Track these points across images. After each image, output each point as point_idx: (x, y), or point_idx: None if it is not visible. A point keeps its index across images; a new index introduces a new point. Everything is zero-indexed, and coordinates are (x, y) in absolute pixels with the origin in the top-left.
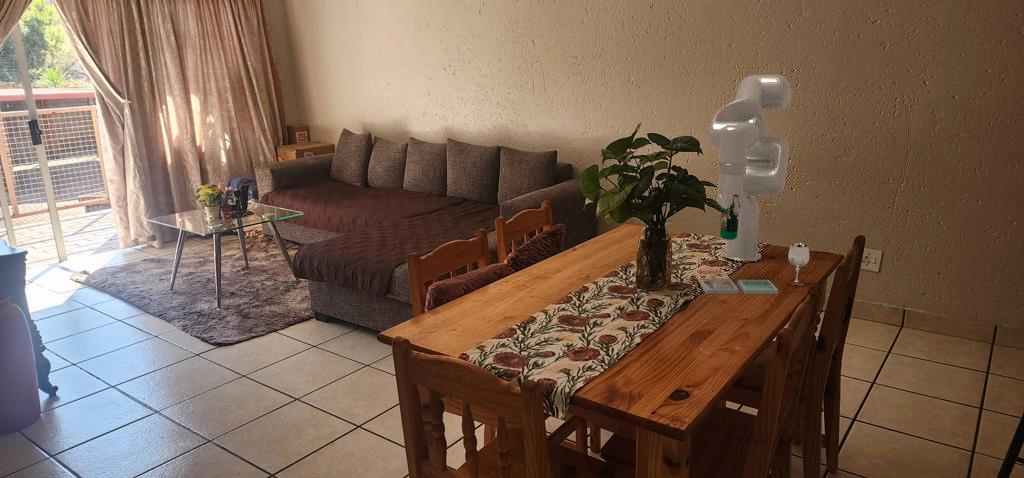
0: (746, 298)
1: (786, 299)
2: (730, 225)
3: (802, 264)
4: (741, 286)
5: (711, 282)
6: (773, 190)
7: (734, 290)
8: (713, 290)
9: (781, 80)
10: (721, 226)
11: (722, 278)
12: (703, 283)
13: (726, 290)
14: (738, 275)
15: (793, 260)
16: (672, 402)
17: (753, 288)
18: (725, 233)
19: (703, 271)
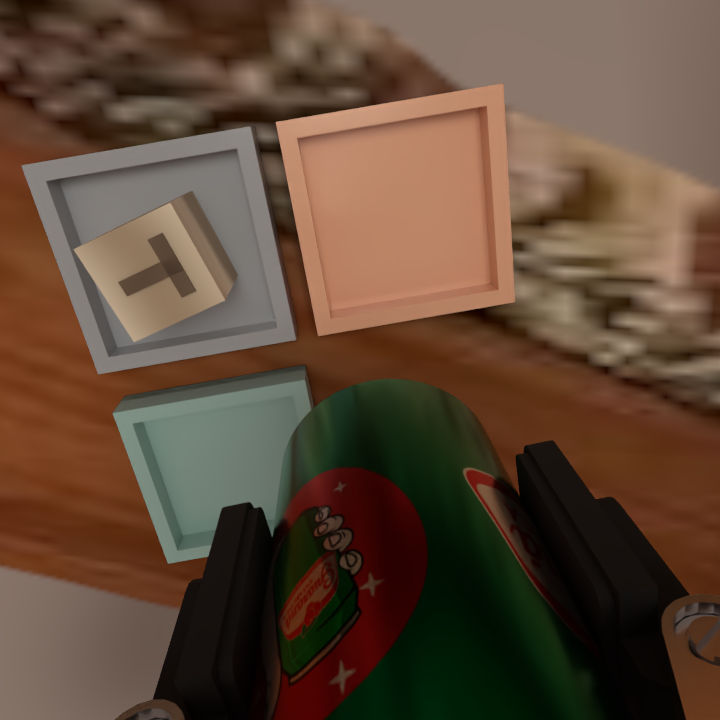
0: (81, 398)
1: (133, 570)
2: (178, 629)
3: None
4: (212, 390)
5: (154, 209)
6: None
7: (92, 349)
8: (41, 216)
9: None
10: (340, 472)
11: (104, 293)
12: (165, 148)
13: (72, 301)
14: (506, 379)
15: None
16: None
17: (232, 446)
18: (286, 472)
19: (487, 160)
